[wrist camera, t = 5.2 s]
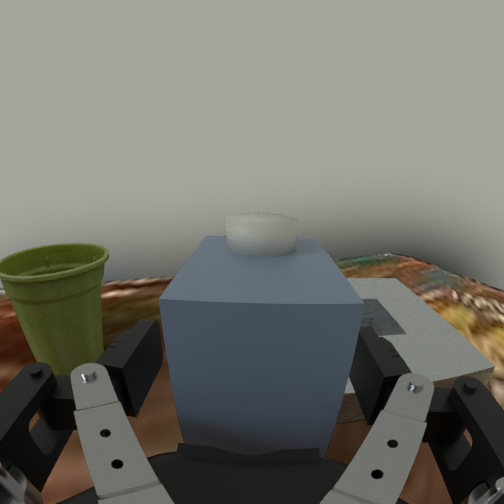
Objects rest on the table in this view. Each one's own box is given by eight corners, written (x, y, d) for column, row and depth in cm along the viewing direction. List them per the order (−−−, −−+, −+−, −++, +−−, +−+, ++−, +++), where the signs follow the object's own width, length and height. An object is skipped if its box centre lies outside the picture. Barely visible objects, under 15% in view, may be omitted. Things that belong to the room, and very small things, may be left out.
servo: (303, 533, 8) (394, 279, 5) (199, 531, 8) (132, 273, 5) (289, 397, 17) (307, 205, 14) (221, 395, 17) (215, 203, 14)
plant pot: (103, 323, 26) (91, 237, 24) (143, 371, 20) (126, 258, 18) (20, 344, 20) (-2, 253, 18) (31, 406, 13) (-12, 286, 11)
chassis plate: (482, 393, 15) (495, 366, 14) (272, 425, 15) (275, 396, 14) (392, 297, 34) (395, 278, 34) (267, 297, 34) (267, 277, 34)
